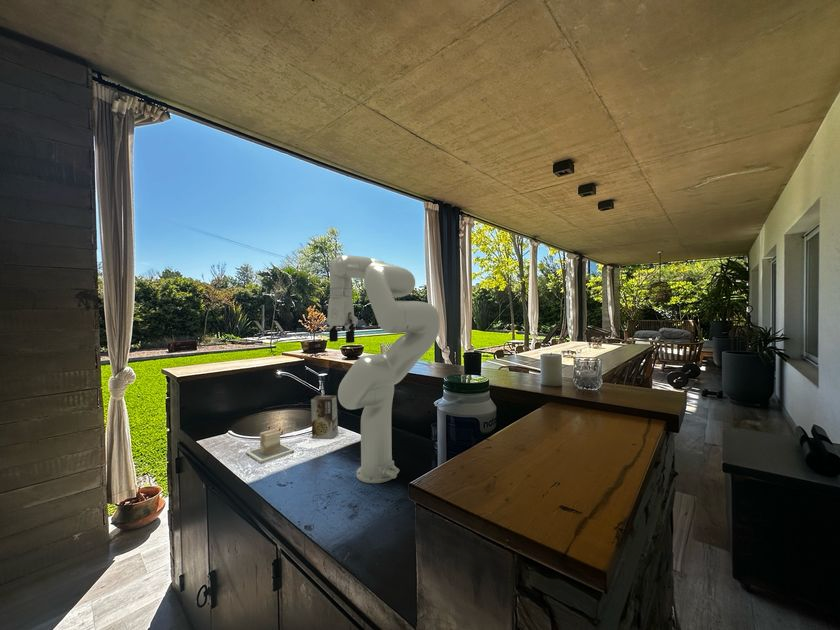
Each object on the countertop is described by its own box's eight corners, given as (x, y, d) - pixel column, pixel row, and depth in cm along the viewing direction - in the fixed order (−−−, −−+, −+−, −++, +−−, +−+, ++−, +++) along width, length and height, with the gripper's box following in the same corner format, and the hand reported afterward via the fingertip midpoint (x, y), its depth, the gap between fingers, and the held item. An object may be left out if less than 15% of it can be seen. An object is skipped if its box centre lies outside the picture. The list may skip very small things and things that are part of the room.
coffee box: (338, 433, 144) (337, 395, 144) (333, 438, 138) (332, 398, 138) (317, 432, 145) (317, 394, 145) (311, 438, 139) (310, 398, 139)
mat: (294, 452, 125) (294, 449, 125) (261, 463, 116) (260, 460, 116) (278, 444, 133) (278, 441, 133) (246, 454, 123) (246, 451, 123)
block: (280, 451, 124) (280, 432, 124) (266, 455, 121) (266, 436, 120) (274, 447, 128) (273, 429, 128) (260, 452, 124) (260, 432, 124)
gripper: (318, 294, 124) (318, 341, 124) (347, 292, 113) (348, 344, 113) (335, 295, 130) (336, 340, 130) (365, 293, 118) (365, 342, 119)
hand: (341, 342), depth 121 cm, fingers open, 9 cm apart
